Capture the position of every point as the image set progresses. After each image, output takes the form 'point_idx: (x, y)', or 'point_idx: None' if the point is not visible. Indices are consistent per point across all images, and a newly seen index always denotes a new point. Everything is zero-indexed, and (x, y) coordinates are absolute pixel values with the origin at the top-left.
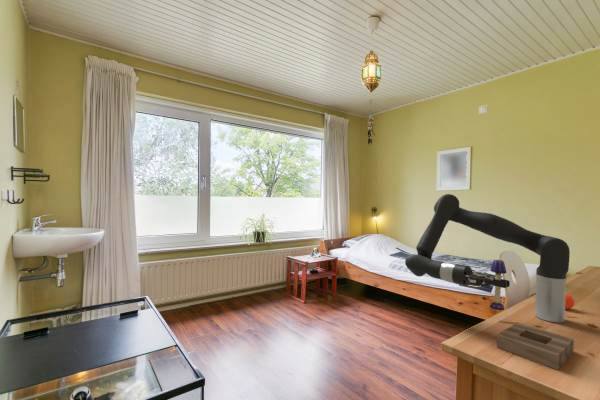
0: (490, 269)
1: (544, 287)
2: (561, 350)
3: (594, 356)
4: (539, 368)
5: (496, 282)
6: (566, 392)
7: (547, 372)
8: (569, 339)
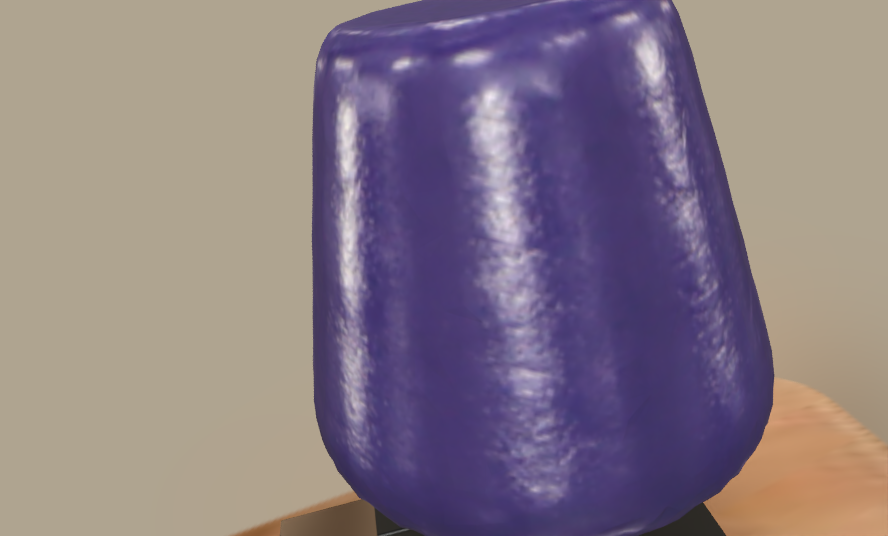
0: (736, 439)
1: None
2: None
3: (274, 519)
4: (749, 515)
5: (707, 523)
6: (802, 387)
7: (738, 484)
8: (316, 523)
